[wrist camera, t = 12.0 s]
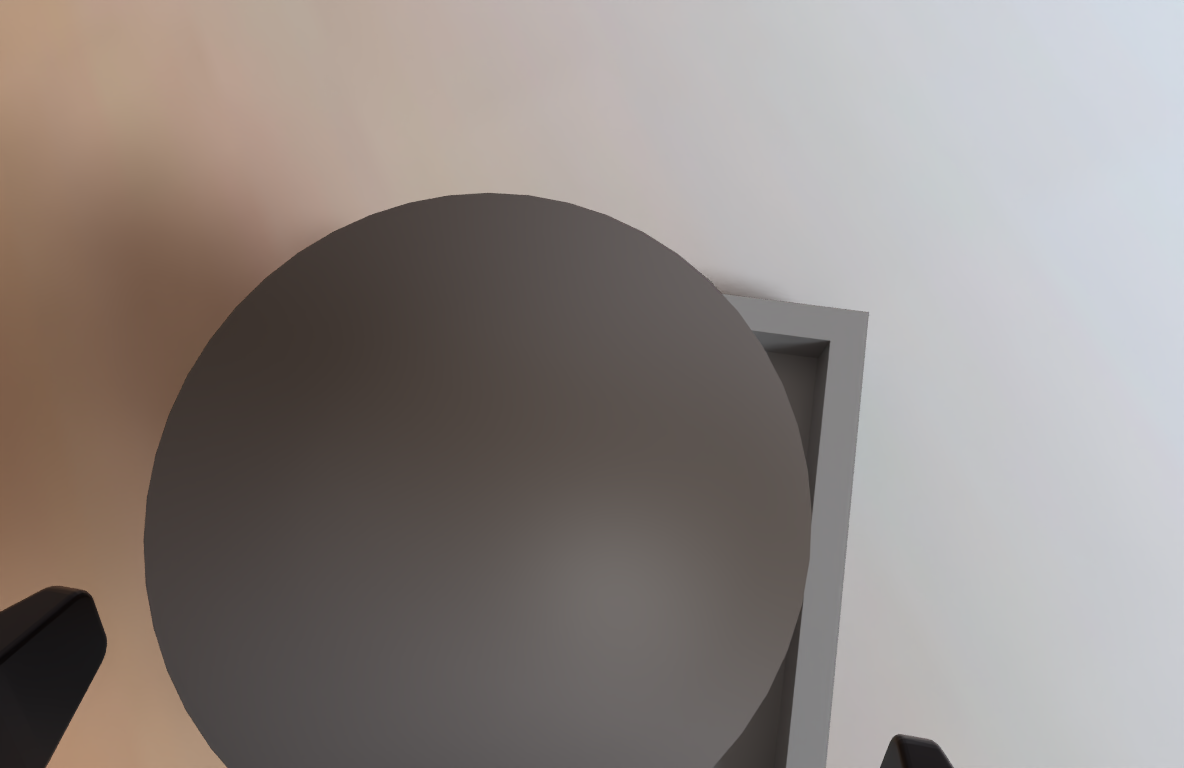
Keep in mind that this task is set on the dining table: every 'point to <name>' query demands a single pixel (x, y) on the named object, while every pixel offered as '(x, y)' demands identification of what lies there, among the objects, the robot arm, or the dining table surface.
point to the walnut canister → (478, 503)
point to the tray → (829, 435)
